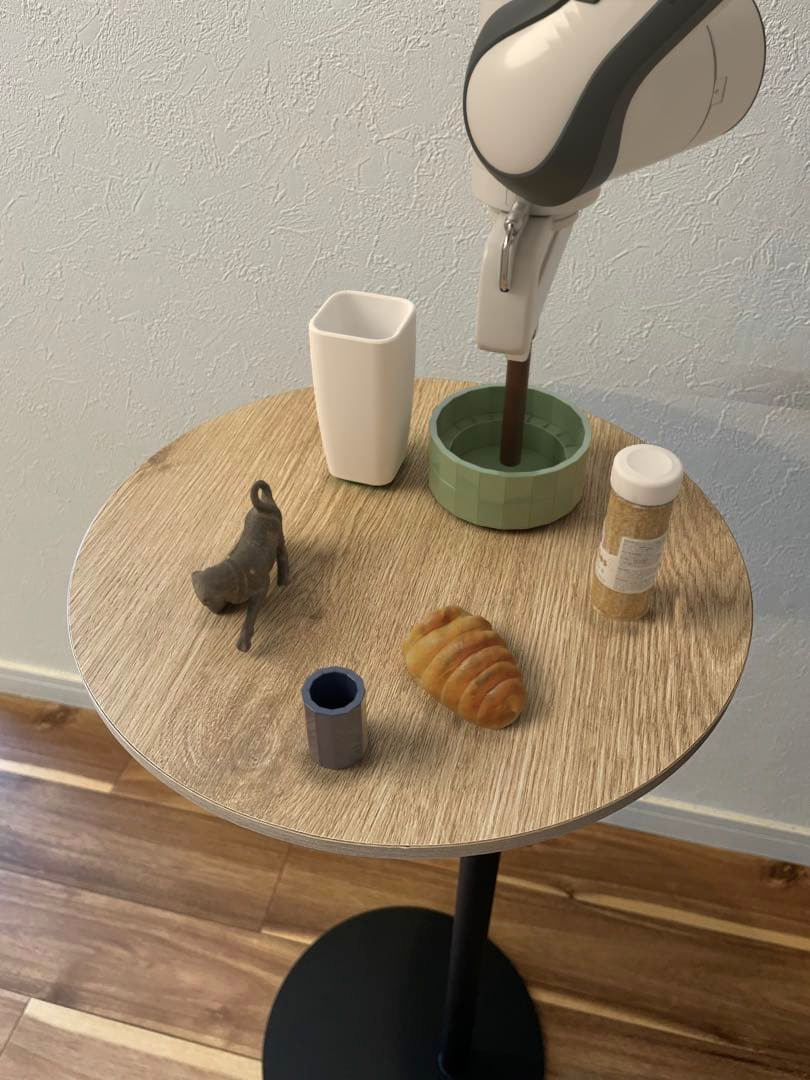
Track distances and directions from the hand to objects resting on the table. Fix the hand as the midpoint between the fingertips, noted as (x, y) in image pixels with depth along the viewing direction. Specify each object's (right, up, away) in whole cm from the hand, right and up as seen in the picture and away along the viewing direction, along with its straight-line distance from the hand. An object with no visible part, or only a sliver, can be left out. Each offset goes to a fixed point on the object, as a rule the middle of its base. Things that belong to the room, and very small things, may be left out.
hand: (521, 345), depth 75 cm
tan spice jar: (+7, -20, -2) cm, 21 cm away
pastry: (-5, -25, -8) cm, 26 cm away
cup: (-12, -9, +10) cm, 18 cm away
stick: (0, -8, +7) cm, 11 cm away
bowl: (0, -10, +8) cm, 13 cm away
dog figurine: (-21, -20, -2) cm, 29 cm away
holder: (-13, -29, -12) cm, 34 cm away
